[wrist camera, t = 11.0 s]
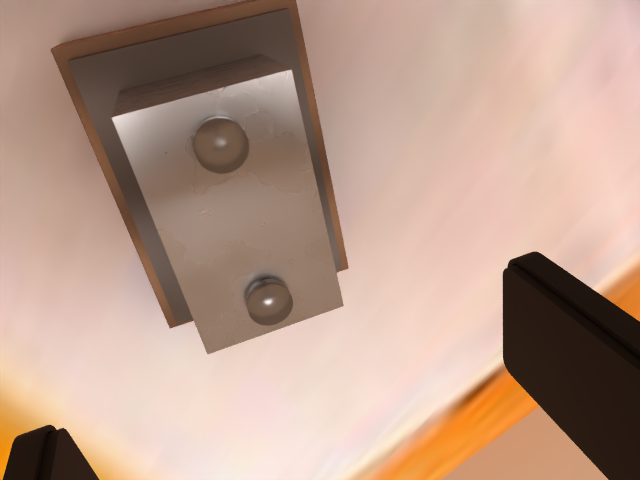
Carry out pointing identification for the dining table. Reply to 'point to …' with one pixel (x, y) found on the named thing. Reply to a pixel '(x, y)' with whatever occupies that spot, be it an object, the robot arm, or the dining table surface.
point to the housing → (232, 196)
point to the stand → (171, 60)
